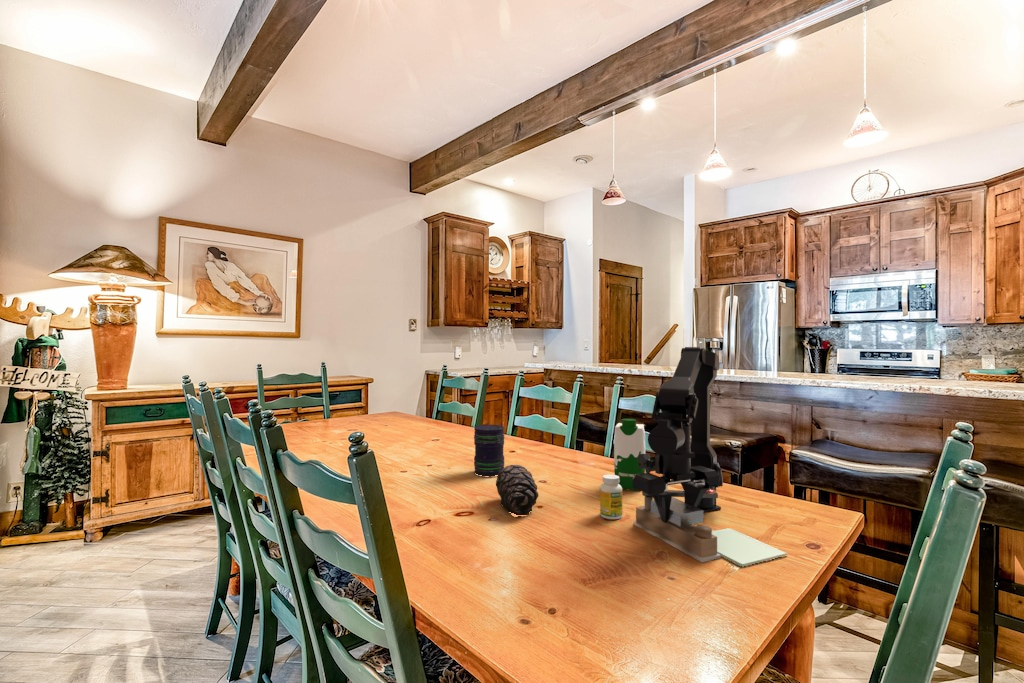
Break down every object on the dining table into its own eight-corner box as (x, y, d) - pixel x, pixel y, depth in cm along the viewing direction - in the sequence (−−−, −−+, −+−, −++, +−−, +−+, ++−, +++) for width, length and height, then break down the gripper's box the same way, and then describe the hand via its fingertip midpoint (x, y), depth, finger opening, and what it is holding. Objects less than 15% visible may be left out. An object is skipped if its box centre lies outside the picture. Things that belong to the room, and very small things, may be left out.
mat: (729, 530, 106) (729, 527, 106) (787, 556, 93) (787, 553, 93) (687, 539, 101) (687, 536, 101) (742, 567, 88) (742, 564, 88)
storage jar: (470, 476, 150) (470, 429, 150) (477, 468, 160) (477, 424, 160) (501, 478, 148) (501, 430, 148) (506, 469, 158) (506, 425, 158)
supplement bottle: (611, 510, 119) (611, 472, 119) (627, 517, 114) (627, 477, 114) (595, 514, 116) (595, 475, 116) (611, 521, 111) (611, 480, 111)
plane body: (633, 524, 110) (633, 494, 110) (650, 521, 112) (649, 492, 112) (701, 562, 90) (701, 526, 90) (720, 558, 92) (720, 523, 92)
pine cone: (510, 522, 112) (510, 479, 112) (491, 498, 129) (490, 461, 129) (551, 517, 115) (551, 475, 115) (527, 495, 132) (527, 458, 132)
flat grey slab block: (672, 508, 105) (672, 497, 105) (703, 522, 97) (703, 510, 97) (650, 512, 103) (650, 500, 103) (680, 526, 95) (680, 514, 95)
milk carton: (612, 489, 136) (612, 419, 136) (616, 481, 145) (616, 415, 145) (644, 492, 133) (644, 421, 134) (646, 483, 142) (646, 416, 142)
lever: (643, 496, 107) (643, 490, 107) (641, 492, 110) (641, 486, 110) (718, 499, 105) (718, 492, 105) (714, 495, 108) (714, 488, 108)
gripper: (683, 436, 111) (683, 502, 111) (616, 442, 104) (617, 513, 104) (720, 445, 101) (721, 518, 101) (650, 453, 94) (650, 532, 94)
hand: (676, 520), depth 100 cm, fingers closed on flat grey slab block, 6 cm apart
